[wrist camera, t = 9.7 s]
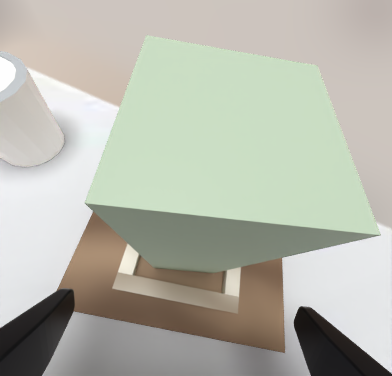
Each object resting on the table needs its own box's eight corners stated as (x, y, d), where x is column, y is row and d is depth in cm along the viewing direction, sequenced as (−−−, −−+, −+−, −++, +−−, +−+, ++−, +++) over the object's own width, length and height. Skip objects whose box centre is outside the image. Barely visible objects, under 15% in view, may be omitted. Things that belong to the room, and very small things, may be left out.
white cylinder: (46, 109, 21) (-6, 36, 15) (85, 144, 20) (46, 80, 14) (-23, 142, 18) (-121, 71, 12) (17, 186, 17) (-71, 130, 11)
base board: (276, 347, 14) (293, 357, 12) (59, 304, 13) (40, 308, 12) (274, 200, 19) (285, 191, 17) (120, 166, 19) (114, 153, 17)
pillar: (213, 273, 14) (381, 235, 3) (154, 268, 14) (84, 203, 3) (214, 217, 17) (317, 65, 5) (163, 211, 16) (146, 35, 5)
